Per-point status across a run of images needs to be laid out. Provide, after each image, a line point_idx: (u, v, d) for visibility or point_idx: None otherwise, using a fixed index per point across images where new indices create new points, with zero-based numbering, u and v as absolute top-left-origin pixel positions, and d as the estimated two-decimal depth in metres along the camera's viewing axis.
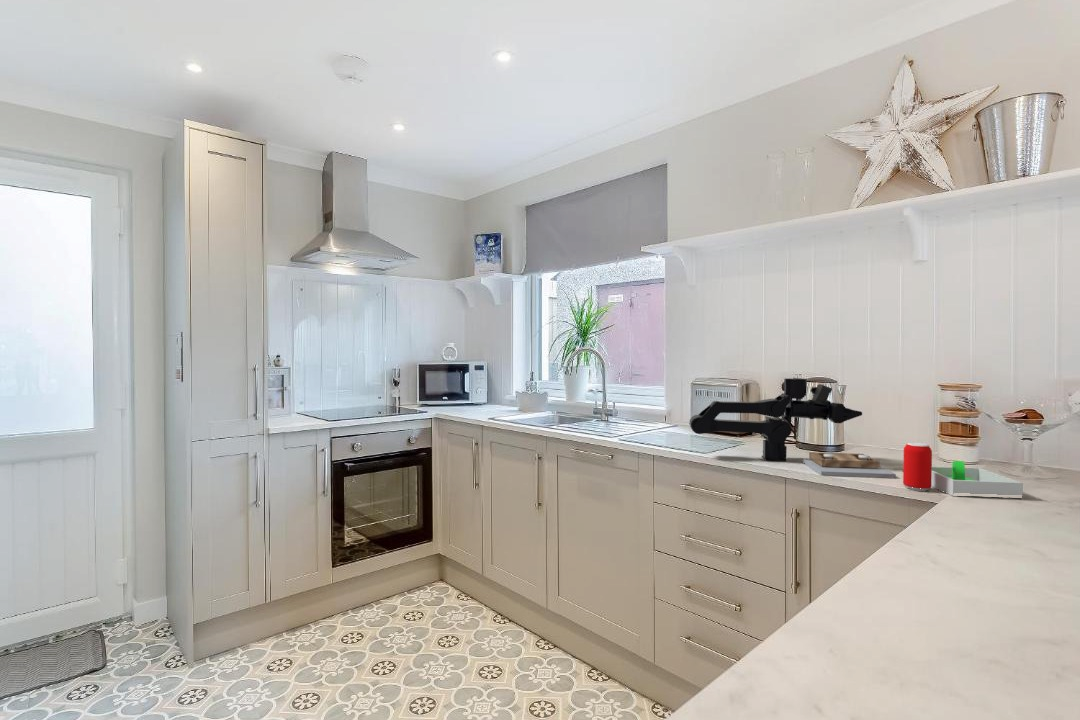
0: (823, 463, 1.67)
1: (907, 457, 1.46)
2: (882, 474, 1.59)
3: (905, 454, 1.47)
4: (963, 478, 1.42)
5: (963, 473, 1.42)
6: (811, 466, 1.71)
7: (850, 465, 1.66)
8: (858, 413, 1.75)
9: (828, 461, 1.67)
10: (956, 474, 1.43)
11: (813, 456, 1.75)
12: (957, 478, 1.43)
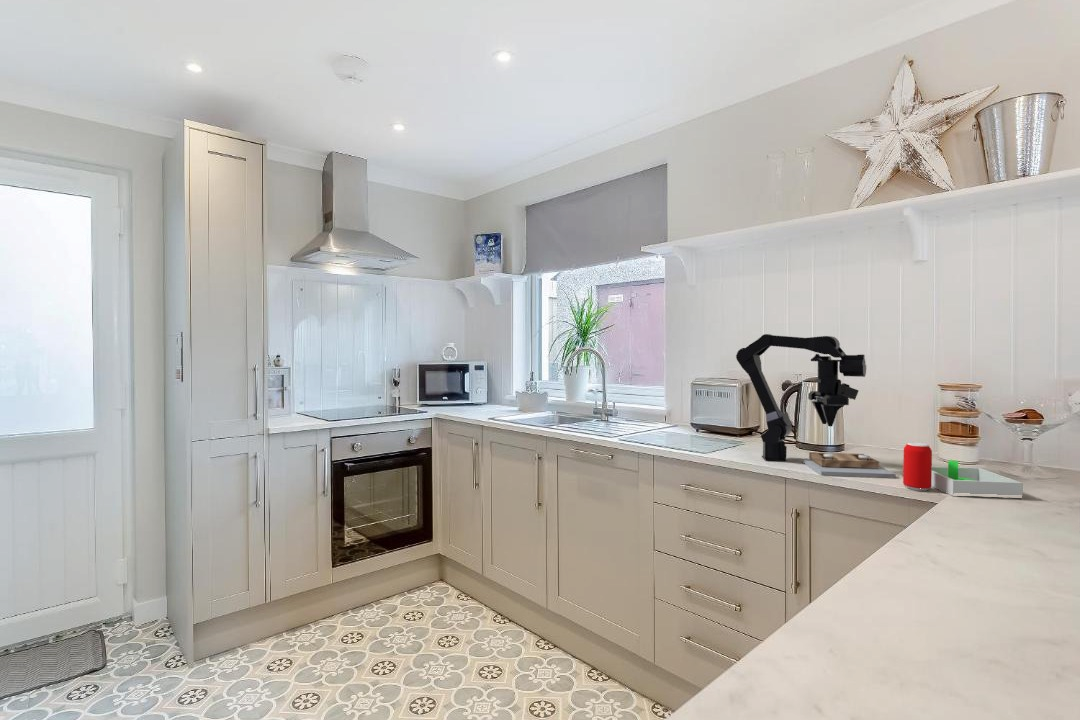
0: (823, 463, 1.67)
1: (907, 457, 1.46)
2: (882, 474, 1.59)
3: (905, 454, 1.47)
4: (956, 477, 1.43)
5: (956, 472, 1.43)
6: (811, 466, 1.71)
7: (850, 465, 1.66)
8: (831, 423, 1.71)
9: (828, 461, 1.67)
10: (949, 473, 1.44)
11: (813, 456, 1.75)
12: (950, 477, 1.44)
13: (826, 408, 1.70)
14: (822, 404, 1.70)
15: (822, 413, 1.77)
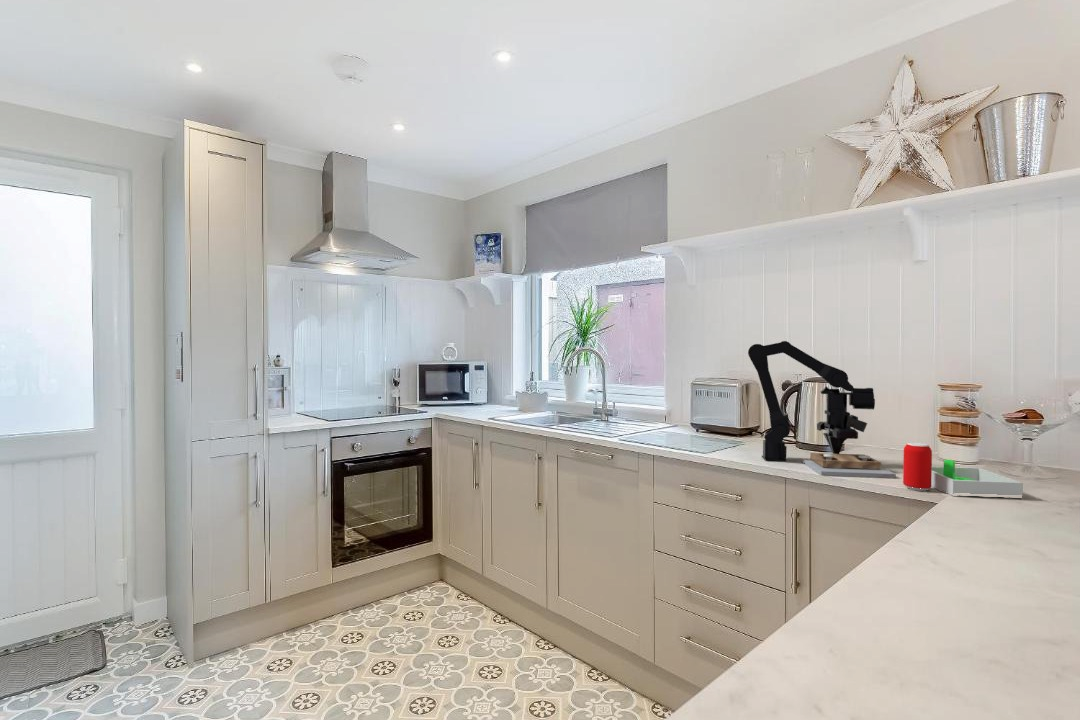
0: (824, 464, 1.66)
1: (907, 457, 1.46)
2: (882, 474, 1.59)
3: (905, 454, 1.47)
4: (951, 476, 1.44)
5: (951, 471, 1.44)
6: (811, 466, 1.71)
7: (852, 466, 1.65)
8: (837, 453, 1.77)
9: (829, 462, 1.66)
10: (944, 472, 1.45)
11: (814, 457, 1.74)
12: None
13: (832, 439, 1.76)
14: (829, 435, 1.76)
15: None
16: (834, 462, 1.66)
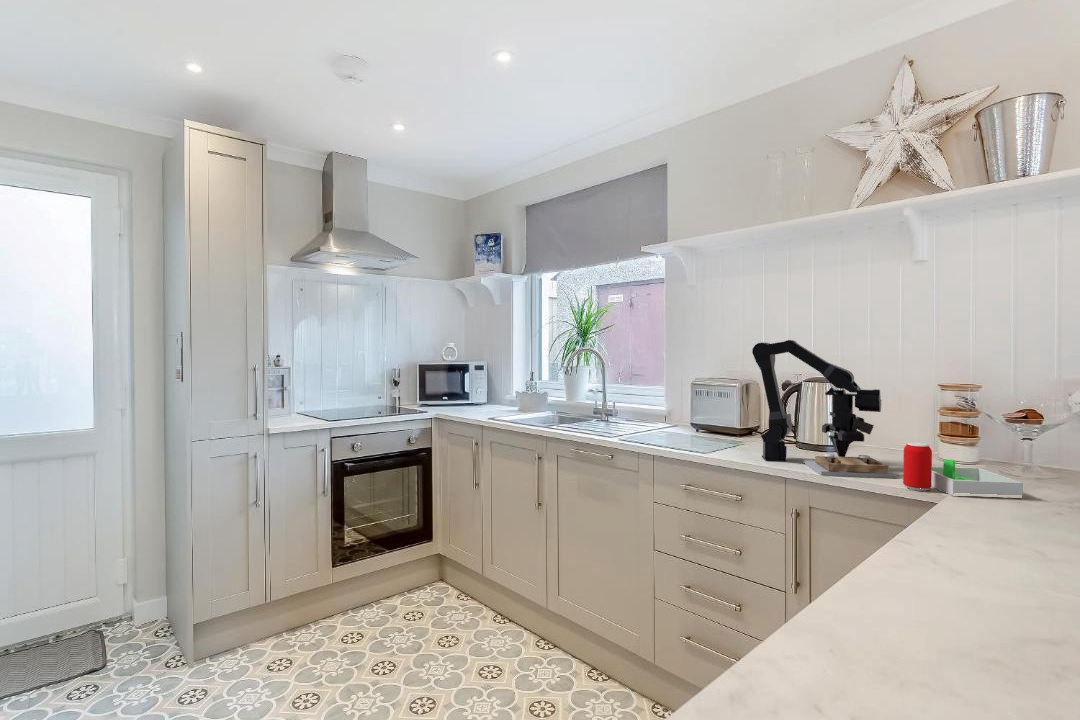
0: (830, 467, 1.61)
1: (907, 457, 1.46)
2: (882, 474, 1.59)
3: (905, 454, 1.47)
4: (951, 476, 1.44)
5: (951, 471, 1.44)
6: (811, 466, 1.71)
7: (858, 469, 1.60)
8: (842, 456, 1.72)
9: (835, 465, 1.61)
10: (944, 472, 1.45)
11: (819, 460, 1.69)
12: None
13: (838, 442, 1.71)
14: (834, 438, 1.71)
15: None
16: (840, 465, 1.61)
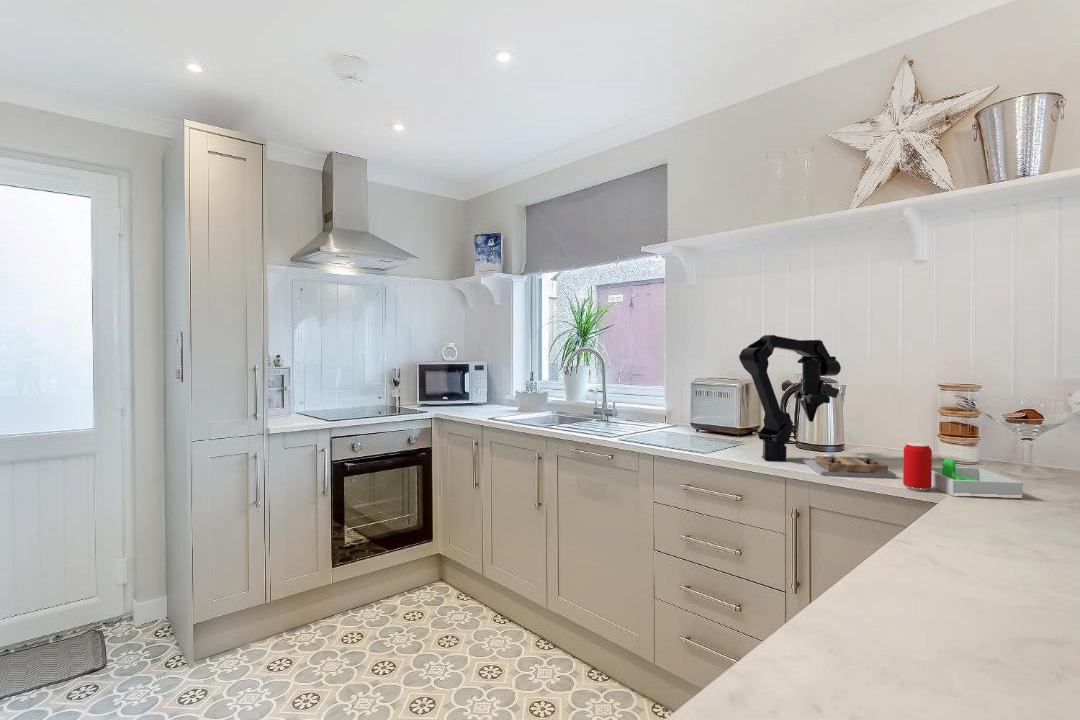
0: (830, 467, 1.61)
1: (907, 457, 1.46)
2: (882, 474, 1.59)
3: (905, 454, 1.47)
4: (950, 476, 1.45)
5: (950, 471, 1.44)
6: (811, 466, 1.71)
7: (858, 469, 1.60)
8: (811, 418, 1.89)
9: (835, 465, 1.61)
10: (943, 472, 1.46)
11: (819, 460, 1.69)
12: (944, 475, 1.45)
13: (807, 405, 1.88)
14: (804, 401, 1.89)
15: None
16: (840, 465, 1.61)
